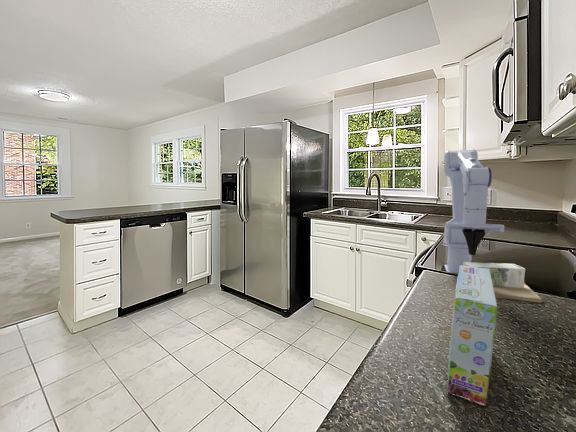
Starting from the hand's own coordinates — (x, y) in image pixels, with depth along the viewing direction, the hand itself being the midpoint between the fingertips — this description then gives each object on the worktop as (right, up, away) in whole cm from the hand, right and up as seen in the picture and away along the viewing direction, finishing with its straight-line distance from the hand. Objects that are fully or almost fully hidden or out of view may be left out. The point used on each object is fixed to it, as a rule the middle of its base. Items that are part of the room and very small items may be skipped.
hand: (471, 254), depth 87 cm
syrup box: (-1, -6, +2) cm, 6 cm away
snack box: (-24, -15, -36) cm, 46 cm away
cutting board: (+7, -10, -2) cm, 13 cm away
